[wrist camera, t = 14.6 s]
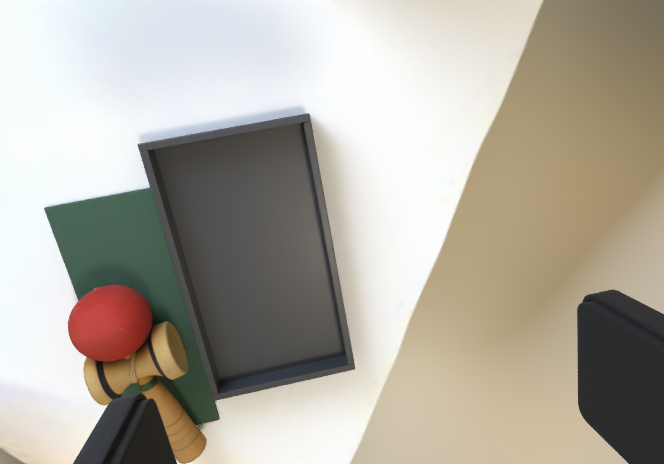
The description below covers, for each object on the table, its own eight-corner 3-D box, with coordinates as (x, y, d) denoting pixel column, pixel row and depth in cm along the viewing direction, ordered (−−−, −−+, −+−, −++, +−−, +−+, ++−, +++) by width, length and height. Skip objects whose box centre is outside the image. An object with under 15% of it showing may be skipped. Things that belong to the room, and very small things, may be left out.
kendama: (239, 409, 42) (153, 260, 35) (225, 469, 36) (117, 305, 29) (170, 425, 43) (71, 283, 36) (145, 485, 38) (22, 332, 30)
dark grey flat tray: (145, 142, 34) (137, 144, 32) (307, 113, 35) (309, 113, 33) (216, 387, 40) (213, 401, 38) (351, 357, 41) (355, 369, 39)
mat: (45, 207, 34) (43, 208, 34) (151, 187, 35) (150, 188, 34) (131, 437, 40) (130, 440, 40) (219, 417, 41) (219, 419, 41)
